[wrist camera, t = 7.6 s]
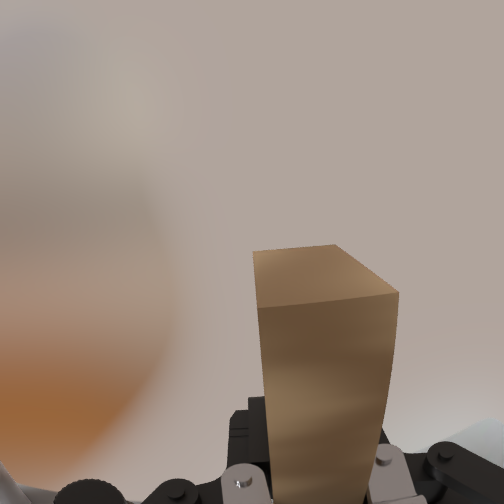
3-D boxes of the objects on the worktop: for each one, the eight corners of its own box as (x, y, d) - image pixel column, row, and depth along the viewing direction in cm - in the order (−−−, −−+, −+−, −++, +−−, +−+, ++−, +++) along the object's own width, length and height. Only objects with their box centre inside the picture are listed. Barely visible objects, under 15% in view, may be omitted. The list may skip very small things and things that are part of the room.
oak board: (280, 587, 8) (256, 307, 5) (275, 523, 13) (253, 251, 10) (333, 580, 8) (398, 292, 5) (321, 517, 13) (335, 244, 10)
